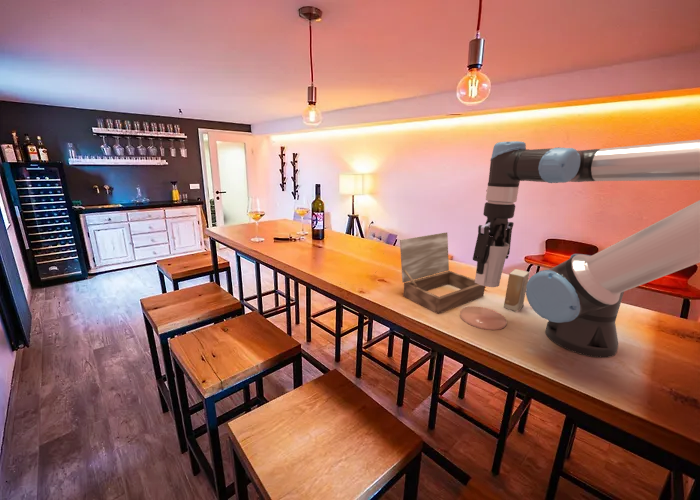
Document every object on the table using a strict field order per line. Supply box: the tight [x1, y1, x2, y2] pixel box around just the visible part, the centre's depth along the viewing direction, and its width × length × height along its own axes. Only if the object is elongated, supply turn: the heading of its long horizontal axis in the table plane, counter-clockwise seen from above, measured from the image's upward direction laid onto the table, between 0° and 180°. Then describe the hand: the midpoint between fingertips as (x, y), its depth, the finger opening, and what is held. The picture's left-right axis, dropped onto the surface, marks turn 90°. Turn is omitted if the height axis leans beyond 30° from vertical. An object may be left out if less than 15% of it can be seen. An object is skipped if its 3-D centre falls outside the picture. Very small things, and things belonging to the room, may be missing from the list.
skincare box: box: [503, 268, 530, 313], centre depth 95 cm, size 6×4×12 cm
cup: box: [482, 241, 509, 288], centre depth 84 cm, size 8×8×12 cm
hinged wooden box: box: [399, 232, 486, 315], centre depth 103 cm, size 19×24×20 cm
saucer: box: [459, 305, 508, 331], centre depth 89 cm, size 13×13×1 cm
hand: (487, 281), depth 86 cm, fingers closed on cup, 7 cm apart
